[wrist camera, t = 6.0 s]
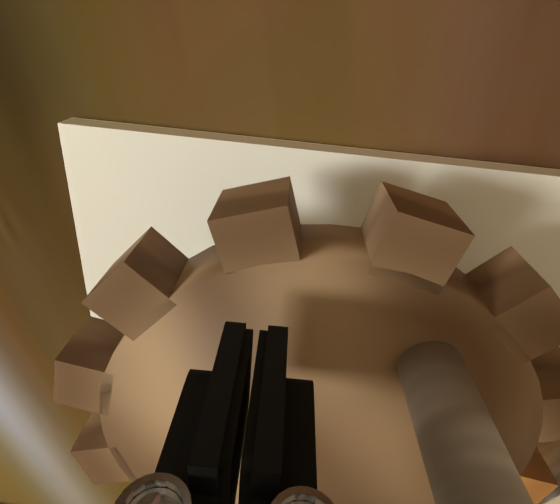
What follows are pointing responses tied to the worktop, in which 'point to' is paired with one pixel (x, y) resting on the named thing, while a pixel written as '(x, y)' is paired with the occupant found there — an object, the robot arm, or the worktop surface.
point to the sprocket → (334, 347)
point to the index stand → (305, 182)
